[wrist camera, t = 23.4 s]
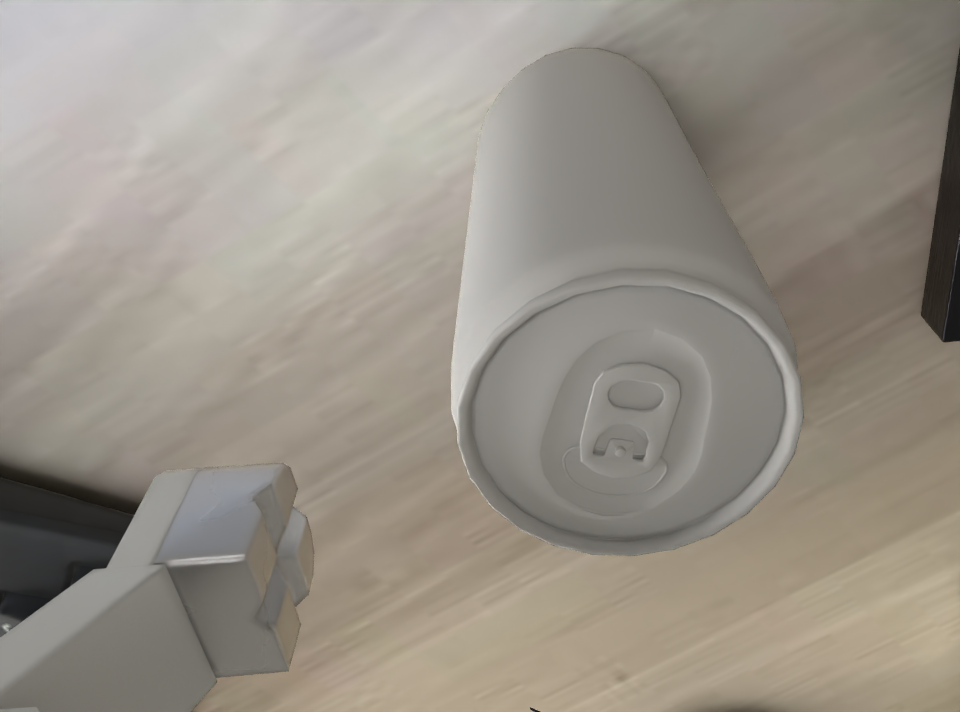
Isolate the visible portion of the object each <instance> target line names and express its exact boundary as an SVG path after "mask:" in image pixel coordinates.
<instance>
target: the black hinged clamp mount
mask: <svg viewBox="0 0 960 712" xmlns="http://www.w3.org/2000/svg"><path fill="white" fill-rule="evenodd" d="M921 316H922V317H923V319H924V320H925V321H926V322H927V323H928V325H929V326H930V327H931V328H932V330H933V331H934V332H935V333H936V334H937V336H938V337H939V338H940V339H941V341H942V342H953V341H960V49H959V56H958V63H957V70H956V77H955V84H954V91H953V97H952V104H951V111H950V118H949V125H948V132H947V139H946V146H945V152H944V159H943V166H942V173H941V180H940V187H939V194H938V201H937V208H936V214H935V221H934V228H933V235H932V242H931V249H930V256H929V263H928V270H927V276H926V283H925V290H924V297H923V304H922V311H921Z"/></svg>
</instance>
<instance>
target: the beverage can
mask: <svg viewBox="0 0 960 712" xmlns="http://www.w3.org/2000/svg"><path fill="white" fill-rule="evenodd" d="M451 413H452V416H453V419H454V422H455V425H456V428H457V443H458V446H459V449H460V452H461V455H462V458H463V461H464V464H465V467H466V470H467V473H468V476H469V478H470V479H471V480H472V482H473V483H474V485H475V486H476V487H477V489H478V490H479V491H480V493H481V494H482V496H483V497H484V498H485V500H486V501H487V503H488V504H489V505H490V506H491V507H492V508H493V509H494V510H496V511H497V512H498V513H499V514H500V515H502V516H503V517H504V518H505V519H507V520H508V521H509V522H510V523H512V524H513V525H514V526H515V527H517V528H518V529H519V530H521V531H523V532H526V533H528V534H530V535H532V536H534V537H536V538H538V539H540V540H543V541H545V542H547V543H549V544H551V545H553V546H557V547H561V548H566V549H570V550H574V551H578V552H583V553H587V554H591V555H617V556H636V555H643V554H649V553H655V552H662V551H668V550H674V549H677V548H679V547H682V546H685V545H688V544H690V543H693V542H696V541H699V540H701V539H704V538H707V537H709V536H712V535H714V534H716V533H717V532H719V531H720V530H722V529H724V528H725V527H727V526H729V525H730V524H732V523H733V522H735V521H737V520H738V519H740V518H742V517H743V516H745V515H746V514H748V513H749V512H750V511H751V510H752V509H753V508H754V507H755V506H756V505H757V504H758V503H759V502H760V501H761V500H762V499H763V498H764V497H765V496H766V495H767V494H768V493H769V492H770V491H771V490H772V489H773V488H774V487H775V486H776V484H777V482H778V481H779V479H780V477H781V476H782V474H783V472H784V471H785V469H786V467H787V466H788V464H789V462H790V461H791V459H792V457H793V456H794V454H795V451H796V447H797V443H798V439H799V435H800V431H801V427H802V423H803V419H804V409H803V397H802V384H801V377H800V375H799V372H798V367H797V354H796V345H795V343H794V340H793V338H792V336H791V333H790V331H789V329H788V327H787V324H786V322H785V320H784V318H783V315H782V313H781V311H780V308H779V306H778V304H777V302H776V300H775V298H774V296H773V295H772V293H771V291H770V289H769V287H768V285H767V283H766V282H765V280H764V278H763V276H762V274H761V272H760V270H759V268H758V267H757V265H756V263H755V261H754V259H753V257H752V256H751V254H750V252H749V250H748V248H747V246H746V245H745V243H744V241H743V239H742V237H741V236H740V234H739V232H738V230H737V228H736V227H735V225H734V223H733V221H732V220H731V218H730V216H729V214H728V213H727V211H726V209H725V207H724V206H723V204H722V202H721V200H720V199H719V197H718V195H717V193H716V191H715V190H714V188H713V186H712V184H711V183H710V181H709V179H708V177H707V176H706V174H705V172H704V170H703V168H702V167H701V165H700V163H699V161H698V159H697V157H696V156H695V154H694V152H693V150H692V148H691V146H690V144H689V143H688V141H687V139H686V137H685V135H684V133H683V131H682V129H681V127H680V126H679V124H678V122H677V120H676V118H675V116H674V114H673V112H672V110H671V108H670V107H669V105H668V103H667V101H666V99H665V97H664V95H663V93H662V91H661V90H660V88H659V87H658V86H657V85H656V83H655V82H654V81H653V79H652V78H651V77H650V76H649V74H648V73H647V72H646V71H645V70H644V69H642V68H641V67H639V66H638V65H636V64H635V63H633V62H632V61H630V60H629V59H627V58H626V57H624V56H621V55H618V54H615V53H611V52H608V51H605V50H602V49H598V48H570V49H567V50H563V51H559V52H556V53H552V54H548V55H545V56H544V57H542V58H540V59H539V60H537V61H535V62H534V63H532V64H530V65H529V66H527V67H525V68H524V69H522V70H521V71H520V72H519V73H518V74H517V75H516V76H515V77H514V78H513V79H512V80H511V81H510V82H509V83H508V84H507V85H506V86H505V87H504V88H503V89H502V90H501V92H500V93H499V95H498V96H497V98H496V99H495V101H494V102H493V104H492V105H491V107H490V108H489V110H488V111H487V114H486V117H485V120H484V122H483V125H482V128H481V131H480V134H479V138H478V146H477V155H476V163H475V172H474V180H473V188H472V195H471V203H470V211H469V219H468V227H467V236H466V244H465V252H464V261H463V269H462V278H461V286H460V295H459V303H458V312H457V320H456V329H455V338H454V346H453V355H452V363H451Z"/></svg>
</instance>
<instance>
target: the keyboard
mask: <svg viewBox="0 0 960 712" xmlns="http://www.w3.org/2000/svg"><path fill="white" fill-rule="evenodd" d="M133 517H134V515H132V514H129V513H125V512H121V511H118V510H114V509H110V508H107V507H103V506H100V505H96V504H92V503H89V502H85V501H82V500H79V499H76V498H73V497H69V496H66V495H62V494H59V493H55V492H52V491H48V490H44V489H41V488H37V487H34V486H30V485H26V484H23V483H19V482H16V481H12V480H8V479H5V478H1V477H0V637H2V636H3V635H4V634H6V633H7V632H9V631H10V630H11V629H13V628H14V627H15V626H17V625H18V624H20V623H21V622H22V621H24V620H25V619H26V618H28V617H29V616H30V615H32V614H33V613H35V612H36V611H37V610H39V609H40V608H41V607H43V606H44V605H46V604H47V603H48V602H50V601H51V600H52V599H54V598H55V597H56V596H58V595H59V594H61V593H62V592H63V591H65V590H66V589H67V588H69V587H70V586H72V585H73V584H74V583H76V582H77V581H78V580H80V579H81V578H82V577H84V576H85V575H87V574H88V573H89V572H91V571H92V570H93V569H104V568H107V566H108V564H109V562H110V560H111V558H112V556H113V554H114V553H115V551H116V549H117V547H118V545H119V543H120V541H121V540H122V538H123V536H124V534H125V532H126V530H127V528H128V526H129V525H130V523H131V521H132V519H133Z"/></svg>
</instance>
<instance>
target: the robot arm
mask: <svg viewBox="0 0 960 712" xmlns="http://www.w3.org/2000/svg"><path fill="white" fill-rule="evenodd" d="M297 491H298V488H297V485H296V482H295V479H294V476H293V474H292V471H291V468H290V467H289V466H287V465H286V464H284V463H270V464H254V465H238V466H221V467H205V468H203V469H201V468H195V469H182V470H168V471H164V472H162V473H160V474H159V475H157V476H156V477H155V478H154V480H153V482H152V484H151V485H150V487H149V489H148V491H147V493H146V495H145V497H144V498H143V500H142V502H141V504H140V506H139V508H138V510H137V512H136V513H135V515H134V517H133V519H132V521H131V523H130V525H129V526H128V528H127V530H126V532H125V534H124V536H123V538H122V540H121V541H120V543H119V545H118V547H117V549H116V551H115V553H114V554H113V556H112V558H111V560H110V562H109V564H108V566H107V568H104V569H93V570H92V571H91V572H89V573H88V574H87V575H85V576H84V577H82V578H81V579H80V580H78V581H77V582H76V583H74V584H73V585H72V586H70V587H69V588H67V589H66V590H65V591H63V592H62V593H61V594H59V595H58V596H56V597H55V598H54V599H52V600H51V601H50V602H48V603H47V604H46V605H44V606H43V607H41V608H40V609H39V610H37V611H36V612H35V613H33V614H32V615H30V616H29V617H28V618H26V619H25V620H24V621H22V622H21V623H20V624H18V625H17V626H15V627H14V628H13V629H11V630H10V631H9V632H7V633H6V634H4V635H3V636H2V637H0V712H191V711H192V710H193V709H194V708H195V707H196V705H197V704H198V703H199V702H200V701H201V700H202V699H203V697H204V696H205V695H206V694H207V693H208V692H209V691H210V689H211V688H212V687H213V686H214V685H215V684H216V683H217V679H216V678H219V677H230V676H242V675H253V674H265V673H276V672H287V671H289V668H290V664H291V661H292V657H293V653H294V649H295V646H296V642H297V638H298V634H299V630H300V627H301V623H300V620H299V617H298V614H297V611H296V608H295V607H296V606H297V605H298V604H299V603H300V602H301V601H302V600H303V599H305V598H306V597H307V596H308V595H309V592H310V587H311V583H312V579H313V573H314V545H313V539H312V532H311V529H310V526H309V522H308V519H307V517H306V516H305V515H304V514H302V513H301V512H300V511H299V510H297V509H296V508H295V507H293V504H294V500H295V497H296V494H297Z"/></svg>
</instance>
